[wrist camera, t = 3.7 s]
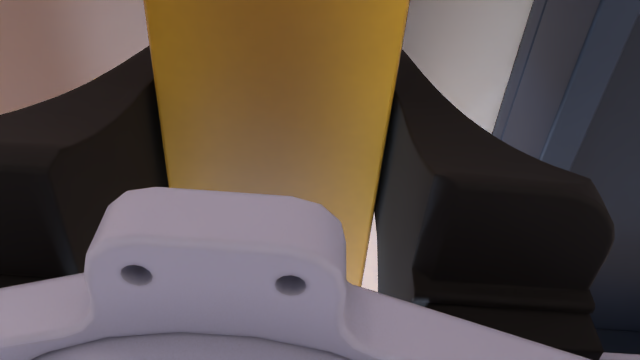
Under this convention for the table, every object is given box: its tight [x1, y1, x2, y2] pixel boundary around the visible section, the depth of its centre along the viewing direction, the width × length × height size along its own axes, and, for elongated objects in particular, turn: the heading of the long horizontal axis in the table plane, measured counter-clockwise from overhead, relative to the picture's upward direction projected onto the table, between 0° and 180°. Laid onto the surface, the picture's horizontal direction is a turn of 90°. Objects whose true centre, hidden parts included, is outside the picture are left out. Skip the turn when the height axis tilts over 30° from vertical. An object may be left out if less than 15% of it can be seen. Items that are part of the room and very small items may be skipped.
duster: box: [143, 0, 410, 287], centre depth 13 cm, size 5×11×5 cm, turn 176°
